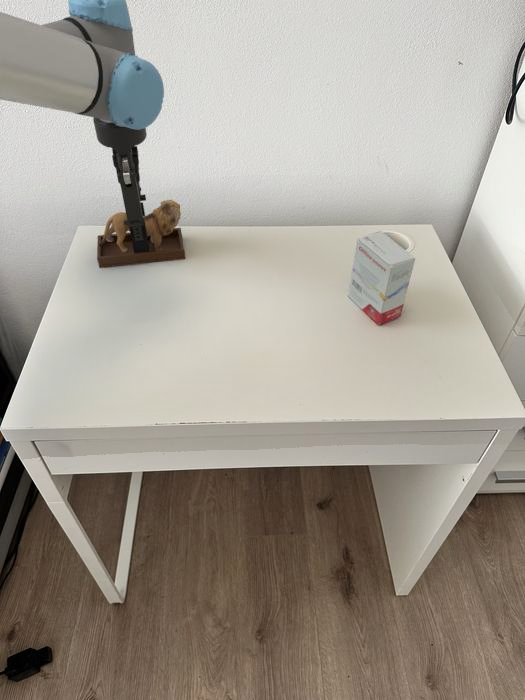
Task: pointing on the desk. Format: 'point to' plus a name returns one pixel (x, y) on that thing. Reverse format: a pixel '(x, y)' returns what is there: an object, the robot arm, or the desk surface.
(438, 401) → the desk surface
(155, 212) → the lion figurine
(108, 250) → the tray
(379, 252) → the ink box
